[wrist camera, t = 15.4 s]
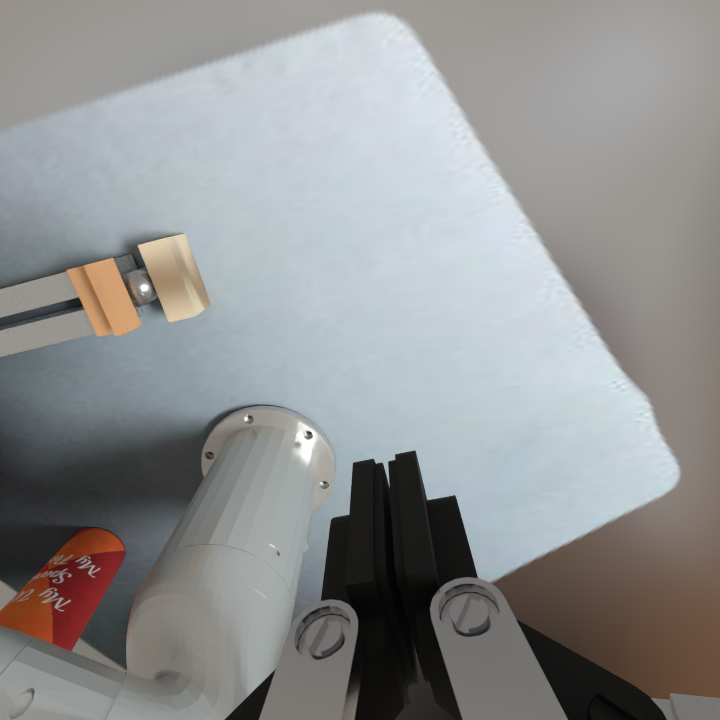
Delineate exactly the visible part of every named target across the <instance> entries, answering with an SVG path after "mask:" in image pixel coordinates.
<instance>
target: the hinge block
mask: <svg viewBox="0 0 720 720" xmlns="http://www.w3.org/2000/svg"><path fill="white" fill-rule="evenodd" d="M138 248H139V250H140V253H141V255H142V258H143V260H144V263H145V265H146V267H147V270H148V272H149V275H150V277H151V280H152V282H153V285H154V287H155V290H156V292H157V295H158V297H159V299H160V302H161V304H162V307H163V309H164V312H165V314H166V317H167V319H168V322H169V323H170V322H174V321H178V320H182V319H186V318H190V317H194V316H197V315H198V314H199V313H201V312H202V311H203V310H205V309H206V308H208V307H209V306H210V305H211V303H210V301H209V298H208V295H207V293H206V290H205V287H204V284H203V282H202V279H201V276H200V273H199V271H198V268H197V265H196V263H195V260H194V257H193V254H192V252H191V249H190V246H189V244H188V241H187V238H186V235H185V233H184V234H180V235H175V236H171V237H167V238H163V239H159V240H155V241H152V242H148V243H144V244H140V245H138Z"/></svg>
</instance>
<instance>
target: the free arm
mask: <svg viewBox="0 0 720 720" xmlns="http://www.w3.org/2000/svg"><path fill="white" fill-rule="evenodd" d="M114 262H115V264H116V266H117V269H118V271H119V273H120V276H121V278H122V280H123V283H124V285H125V287H126V290H127V292H128V294H129V297H130V299H131V301H132V304H133V306H134V307H141V306H143V305H145V304H147V303H149V302H151V301H153V300H155V299H157V298H159V297H158V295H157V292H156V290H155V287H154V285H153V282H152V280H151V277H150V275H149V272H148V270H147V267H143V268H140V269H138V268H137V265H136V263H135V261H134V258H133V256H132V254H130V255H126V256H123V257H119V258H115V259H114ZM78 297H79V296H78V294H77V292H76V290H75V287H74V285H73V283H72V281H71V279H70V277H69V275H68V272H63V273H59V274H55V275H52V276H48V277H44V278H40V279H37V280H33V281H29V282H25V283H22V284H18V285H14V286H11V287H7V288H3V289H0V318H1V317H5V316H9V315H12V314H16V313H20V312H24V311H28V310H32V309H36V308H39V307H43V306H47V305H51V304H55V303H59V302H63V301H66V300H70V299H74V298H78Z"/></svg>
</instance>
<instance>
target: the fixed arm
mask: <svg viewBox="0 0 720 720" xmlns="http://www.w3.org/2000/svg"><path fill="white" fill-rule="evenodd" d="M134 308H135V311H136V313H137V315H138V318H140V317H142V316H144V314H143V311H142V309H141V307H134ZM93 334H96V332H95V330H94V328H93V326H92V324H91V322H90V319H89V317H88V315H87V313H86V311H85V309H84V307H83V306H79V307H75V308H71V309H67V310H63V311H59V312H55V313H51V314H47V315H43V316H39V317H35V318H31V319H27V320H24V321H20V322H16V323H12V324H8V325H4V326H2V325H1V326H0V357H2V356H6V355H10V354H14V353H19V352H23V351H27V350H31V349H35V348H39V347H43V346H47V345H51V344H56V343H60V342H64V341H68V340H72V339H76V338H80V337H84V336H89V335H93Z"/></svg>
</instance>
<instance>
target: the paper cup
mask: <svg viewBox="0 0 720 720" xmlns="http://www.w3.org/2000/svg"><path fill="white" fill-rule="evenodd" d="M124 557H125V547H124V545H123V543H122V541H121V540H120V539H119V538H118V537H117V536H116V535H115V534H113V533H111V532H110V531H107V530H105V529H102V528H94V527H93V528H86V529H83V530H81V531H79V532H78V533H77V534H76V535H75V536H74V537H72V538H71V539H70V540H69V541H68V542H67V543H66V544H65V545H64V546H63V547H62V548H61V549H60V550H59V551H58V552H57V553H56V554H55V555H54V557H53V558H52V559H51V560H50V561H49V562H48V563H47V564H46V565H45V566H44V567H43V568H42V569H41V570H40V571H39V572H38V573H37V574H36V575H35V576H34V577H33V578H32V579H31V580H30V581H29V582H28V583H27V584H26V585H25V586H24V587H23V588H22V589H21V590H20V591H19V593H18V594H17V595H16V596H15V597H14V598H13V599H12V600H11V601H10V602H9V603H8V604H7V605H6V606H5V607H4V608H3V609H2V610H1V611H0V625H1V626H4V627H7V628H11V629H14V630H17V631H20V632H23V633H25V634H28V635H30V636H33V637H36V638H39V639H42V640H44V641H47V642H49V643H52V644H54V645H57V646H59V647H62V648H64V649H67V650H69V651H72V649H73V647H74V646H75V644H76V642H77V641H78V639H79V637H80V635H81V634H82V632H83V630H84V629H85V627H86V625H87V623H88V622H89V620H90V618H91V617H92V615H93V613H94V611H95V610H96V608H97V606H98V604H99V603H100V601H101V599H102V598H103V596H104V594H105V592H106V591H107V589H108V587H109V585H110V584H111V582H112V580H113V578H114V577H115V575H116V573H117V571H118V569H119V568H120V566H121V564H122V562H123V560H124Z"/></svg>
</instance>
